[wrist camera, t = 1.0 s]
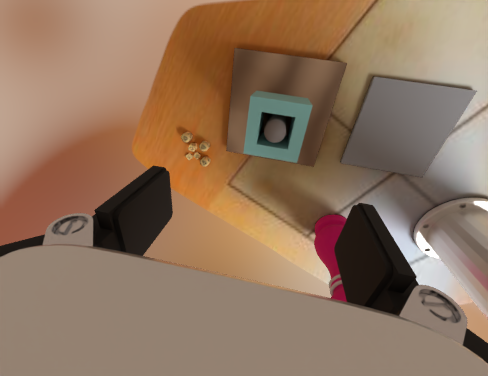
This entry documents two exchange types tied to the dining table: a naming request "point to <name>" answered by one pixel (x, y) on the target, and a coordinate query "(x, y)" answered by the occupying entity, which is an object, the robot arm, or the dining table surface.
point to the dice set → (193, 146)
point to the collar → (281, 106)
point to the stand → (287, 83)
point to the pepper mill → (330, 250)
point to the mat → (404, 125)
